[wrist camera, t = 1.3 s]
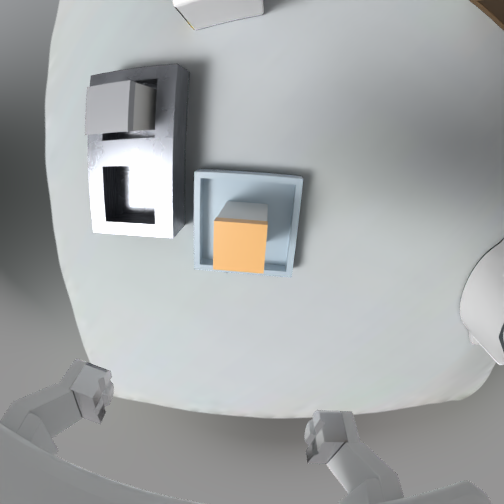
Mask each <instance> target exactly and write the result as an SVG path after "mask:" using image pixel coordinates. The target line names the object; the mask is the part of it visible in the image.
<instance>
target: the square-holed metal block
mask: <svg viewBox="0 0 504 504" xmlns="http://www.w3.org/2000/svg"><path fill="white" fill-rule="evenodd" d="M189 74H190V72H189V71H187V70H186V69H185V68H183V67H182V66H180V65H179V64H169V65H158V66H148V67H140V68H132V69H125V70H119V71H113V72H107V73H102V74H97V75H92V76H91V80H90V87H91V86H96V85H102V84H108V83H114V82H121V81H128V80H131V81H134V82H136V83H138V84H142V85H145V86H148V87H151V88H154V89H157V95H156V113H155V130H142V131H127V132H114V133H102V134H92V135H88V174H89V192H90V206H91V217H92V226H93V233H107V234H121V235H134V236H148V237H161V238H174V237H175V236H176V235H177V233H178V232H179V231H180V230H181V229H182V228H183V227H184V225H185V218H184V192H185V144H186V121H187V103H188V87H189Z"/></svg>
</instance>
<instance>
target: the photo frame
mask: <svg viewBox="0 0 504 504" xmlns="http://www.w3.org/2000/svg"><path fill="white" fill-rule="evenodd" d="M469 1H471V2H472V3H473V4H474V5H476V6H477V7H478V8H479V9H480V10H482V11H483V12H484V13H485V14H486V15H487V16H489V17H490V18H491V19H492V20H493V21H494V22H495V23H496V24H497V25H498V26H499V27H500V28H502V29H503V30H504V0H469Z"/></svg>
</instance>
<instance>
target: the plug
mask: <svg viewBox="0 0 504 504" xmlns="http://www.w3.org/2000/svg"><path fill="white" fill-rule="evenodd" d="M267 215H268V204H262V203H248V202H234V201H227V202H226V204H225V205H224V207H223V209H222V210H221V212H220V213H219V215H218V217H216V218H215V220H214V238H213V269H215V270H226V271H237V272H249V273H261V274H264V263H265V251H266V240H267V228H268V221H267Z"/></svg>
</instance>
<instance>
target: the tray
mask: <svg viewBox="0 0 504 504" xmlns="http://www.w3.org/2000/svg"><path fill="white" fill-rule="evenodd" d="M302 186H303V178H302V177H301V176H297V175H286V174H275V173H262V172H248V171H232V170H212V169H198V170H197V171H195V172H194V269H198V270H208V271H219V272H231V273H242V274H254V275H266V276H279V277H292V270H293V263H294V255H295V247H296V239H297V231H298V222H299V214H300V205H301V195H302ZM227 201H234V202H248V203H262V204H268V215H267V221H268V228H267V240H266V251H265V263H264V274H261V273H249V272H237V271H226V270H215V269H213V238H214V220H215V218H216V217H218V215H219V213H220V212H221V210H222V209H223V207H224V205H225V204H226V202H227Z"/></svg>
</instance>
